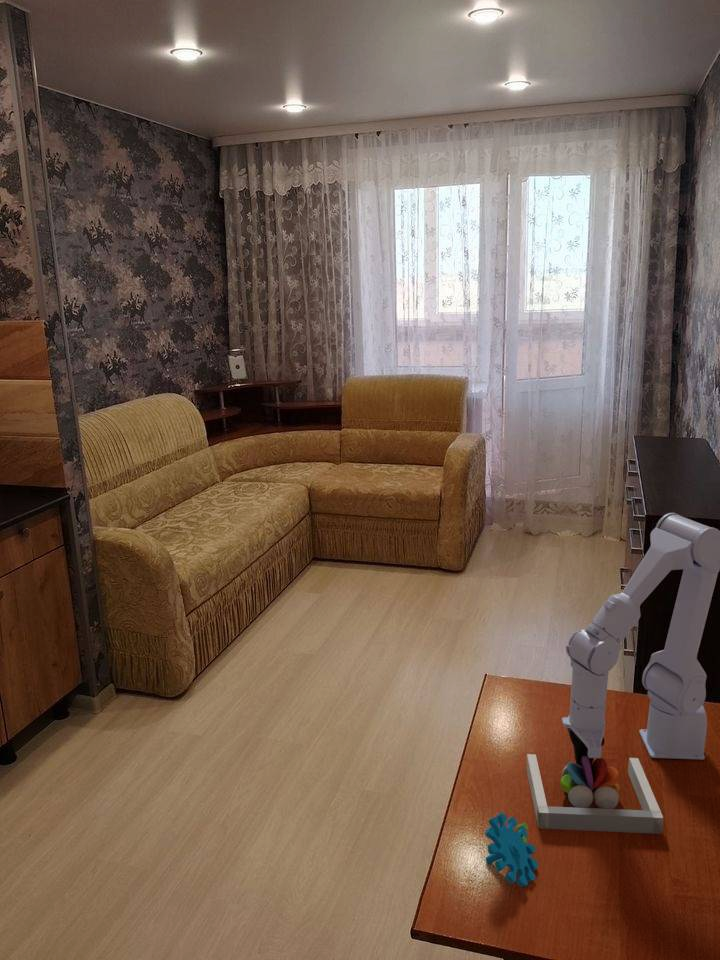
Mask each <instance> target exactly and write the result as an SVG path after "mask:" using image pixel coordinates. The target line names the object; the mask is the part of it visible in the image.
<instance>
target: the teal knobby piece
mask: <svg viewBox="0 0 720 960" xmlns="http://www.w3.org/2000/svg"><path fill="white" fill-rule="evenodd" d="M506 822H507V825H506ZM488 824H489V825H490V827H488V828H486V830H485V833H484V835H485V837H486V838H488V839H489V840H491V841H492V842H491V843H489V844H487V852H488V854H489V855H488V856H486V857H485V862H486V863H487V864H488V865H490V864H493V863H494V866H495V868H496V870H497V872H501V871H503V870H505V869H506V867H507V868H509V872H508V873H506V874H505V879H506V880H507V882H508V883H509V884H513V883H515V882H516V883H517V885H518V886H519V887H521V888H524V887H526V886H528V883H530V882H532V881H534V880H536V879H537V877H536V874H535V872H534V871H536V870H537V869H538V866H539V863H538V861H537V860H536V859H534V858H533V857H531V855H533V854H535V853H536V850H535V845H534V844H533V843H527V842H528V836H529V834H528V831H527V830H529V825H528V824H527V823H526V822H522V823H520V824H519V823H518V821H517V819H516V818H515V817H514V816H512V817H509V818H508V817H507V815H506V814H505V813H502V812H500V813H498V814H496V816H493V817H491V818H489V819H488ZM514 827H516V830H515V829H514ZM517 874H518V876H517Z"/></svg>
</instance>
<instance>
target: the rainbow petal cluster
mask: <svg viewBox="0 0 720 960" xmlns="http://www.w3.org/2000/svg"><path fill="white" fill-rule="evenodd" d="M561 771H562V772H561V778H560V781H559V785H560V787H561V789H562V790H563V791H564V793H566V794H567V797H568V801H569V802H570V804H571V805H572V806H573V807H574V808H590V807H591V805H592V803H593V802H594V804H595V805H596V806H597V808H599V809H615V808H616V807H617V805H618V803H619V798H620V797H619V795H620V792H621V788H620V785H619V784H618V781H619V779H620V771H618V769H617V768H615V767H613V766H609V765H608V764H607V761H606V759H605V758H604V757H601V758H594V760H593V763H592V765H591V766H590V762H589V759H588V757H586V756H583V757H582V767H581V766H580V765H578V764H576V762H570V761H569V762H568V763H567V764H566V765H565V766H564V768H563V769H562V770H561Z"/></svg>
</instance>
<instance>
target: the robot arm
mask: <svg viewBox="0 0 720 960" xmlns="http://www.w3.org/2000/svg"><path fill="white" fill-rule="evenodd" d="M649 536H650V537H649V541H650V546H649V548H648V550H647V552H646V553H645V554H644V557H643V558H642V559H641V561H640V563H639V564H638V566H637V568H636V569H635V571H634V573H633V574H632V576H631V577H630V579H629V581H628V582H627V584H626V585H625V586H624V588H623V590H622V592H620V593H615V594H611V595H610V596H609V597H608V599H606V601H605V602H604V604H603V605H602V606H601V608H600V609H599V610H598V612H597V613H596V614H595V615H594V617H593V618H592V619H591V621H590V623H588V625H587V626H586V628H584V629H579V630H577V631H575V632H574V633H573V634H572V635H571V636H570V639H569V641H568V644H567V645H565V652H566V654H567V656H568V657H569V658H570V667H571V668H572V671H571V674H572V675H571V689H570V700H569V701H570V702H569V703H570V705H569V714H568V716H567V717H565V716H564V717H562V718H561V723H562V727H564V728H566V729H567V732H568V736H569V739H570V741H571V744H572V746H573V753H574V759H575V764H578V765H580V766H581V767H582V757H583V756H586V757H588V759H589V762H590V766H591V765H592V763H593V762H594V760H595V759H597V758H602V752H603V750H602V749H603V746H604V745H605V737H604V735H605V734H604V733H605V730H606V722H605V717H606V704H607V693H608V683H609V672H611V670H612V669H613V668H614V667H615V666H616V664H617V663H618V660H619V655H620V651H621V649H622V647H623V645H622V643H623V641H624V640H625V638H626V637H627V635H628V634H629V633H630V632H631V630H632V629H633V628H634V626H635V625H636V623H637V622H638V621H639V620H640V619H641V608H640V607H641V605H642V603H643V602H644V601H645V600H646V599H647V598H648V597H649V596H650V594H651V593H653V591H654V590H655V589H656V588H657V586H659V584H660V583H661V582H662V581H663V580H664V579H665V578H666V577H667V575H668V574H670V572H671V571H676V570H682V575H681V577H680V578H681V579H680V582H679V583H680V584H679V587H678V592H677V596H676V600H675V603H674V608H673V611H672V615H671V620H670V623H669V628H668V633H667V637H666V640H665V645H664V649H662V650H659V651H656V652H653V653H651V655H650V659H649V662H648V664H647V665H646V667H645V669H644V670H643V672H642V677H641V678H642V679H641V682H642V683H641V684H642V686H643V687H644V689H645V690H647V697H648V698H649V706H648V707H649V708H648V719H647V727H646V728H645V729H639V731H638V732H639V735H640V737H641V739H642V742H643V744H644V746H645V748H646V750H647V752H648V753H647V754H648V755H649V757H650V758H651V759H652V758H653V759H672V760H673V759H674V760H675V759H677V760H678V759H681V760H701V761H702V760H705V758H706V756H705V754H704V753H705V745H706V737H707V731H708V730H707V729H708V721H707V719H708V718H707V713H706V712H707V711H706V710H705V707H704V703H705V701H706V697H707V690H706V689H707V688H706V681H707V677H708V676H707V674H706V671H705V670H704V668H703V667H702V665H701V663H700V662H699V661H698V658H697V657H698V653H699V648H700V646H701V641H702V638H703V633H704V629H705V625H706V623H707V622H706V621H707V617H708V613H709V609H710V607H711V602H712V597H713V595H714V594H713V593H714V592H715V591H714V589H715V586H716V582H717V578H718V575H719V574H718V573H719V572H720V530H719V529H718V528H715V527H711V526H709V525H706V524H702V523H701V522H697V521H695V520H692V519H690V518H687V517H684V516H682V515H680V514H678V513H676V512H668V513H665V514H664V515H663V516H662V517H661V518H660V519H659V520H658V522H657V523H656V525H655V527H654V528H653V529H652V530H651V532H650V534H649Z"/></svg>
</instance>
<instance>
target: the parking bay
mask: <svg viewBox="0 0 720 960" xmlns="http://www.w3.org/2000/svg"><path fill="white" fill-rule="evenodd" d="M627 766H628V767H627V774H628V777H629V780H630V781H631V784H632V787H633V789H634V792H635V794H636V796H637V798H638V802H639V805H640V807H641V809H642V810H641V809H620V808H619V809H618V808H613V809H601V808H599V807H597V808H593V807H587V808H576V807H574V806H573V807H572V806H569V807H568V806H567V807H565V806H550V805H549V806H548V803H547V799H546V794H545V789H544V786H543V782H542V781H543V780H542V777H541V772H540V767H539V763H538V759H537V754H534V753H533V754H531V753H527V754H526V766H525V769H526V773H527V778H528V784H529V788H530V789H529V790H530V794H531V799H532V802H533V803H532V804H533V808H534V809H533V810H534V814H535V819H536V824H537V827H538V828H537V829H541V830H542V829H544V830H547V829H548V830H564V831H565V830H567V831H590V832H591V831H593V832H607V833H608V832H611V833H612V832H613V833H614V832H615V833H632V834H633V833H635V834H654V835H655V834H656V835H657V834H658V835H659V834H660V835H661V834H662V832H663V827H664V826H663V825H664V816H663V814H662V810H661V809H660V806H659V804H658V801H657V799H656V797H655V795H654V792H653V791H652V790H653V789H652V788H651V786H650V783H649V780H648V779H647V776H646V773H645V772H644V768H643V767H642V763H641V762H640V759H639V758H638V757H629V758H628V765H627Z"/></svg>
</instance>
